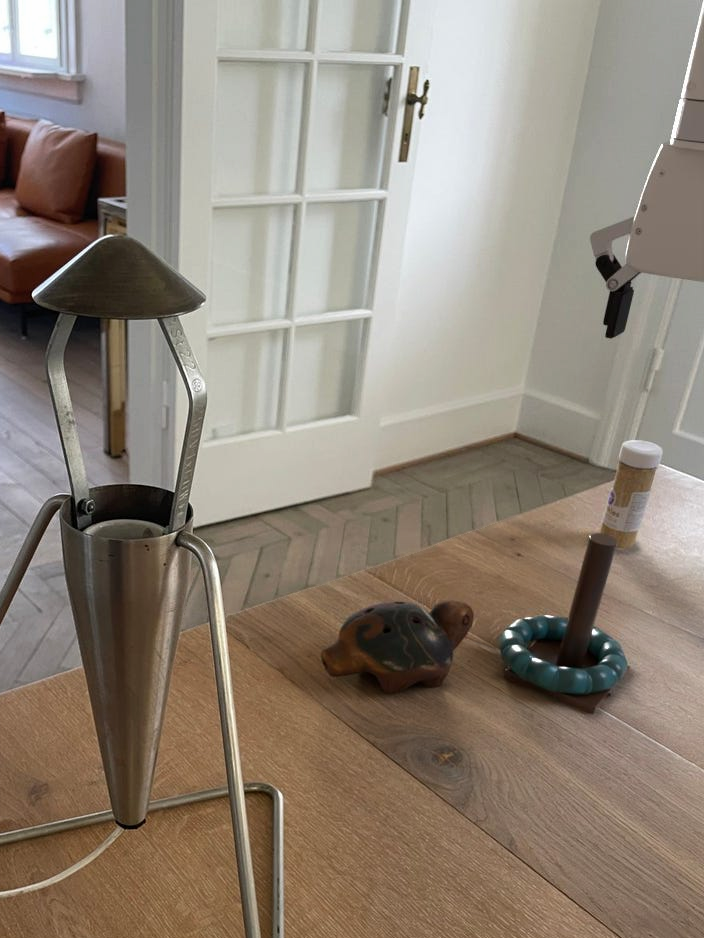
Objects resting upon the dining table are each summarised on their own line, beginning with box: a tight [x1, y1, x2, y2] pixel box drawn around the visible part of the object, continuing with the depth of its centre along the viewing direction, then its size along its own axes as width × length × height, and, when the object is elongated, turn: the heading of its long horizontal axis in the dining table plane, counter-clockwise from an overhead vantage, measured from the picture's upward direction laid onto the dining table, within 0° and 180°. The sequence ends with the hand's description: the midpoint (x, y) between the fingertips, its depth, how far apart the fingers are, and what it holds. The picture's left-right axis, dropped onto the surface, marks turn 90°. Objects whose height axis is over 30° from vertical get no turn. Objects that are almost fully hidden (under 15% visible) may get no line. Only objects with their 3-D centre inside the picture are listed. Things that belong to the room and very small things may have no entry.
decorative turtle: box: [320, 599, 474, 694], centre depth 92 cm, size 10×15×8 cm, turn 112°
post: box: [503, 532, 631, 715], centre depth 91 cm, size 9×9×16 cm
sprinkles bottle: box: [599, 439, 664, 549], centre depth 116 cm, size 5×5×13 cm
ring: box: [498, 614, 629, 695], centre depth 94 cm, size 12×12×2 cm
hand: (668, 345), depth 85 cm, fingers open, 9 cm apart
